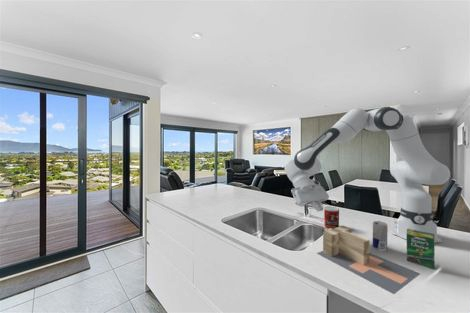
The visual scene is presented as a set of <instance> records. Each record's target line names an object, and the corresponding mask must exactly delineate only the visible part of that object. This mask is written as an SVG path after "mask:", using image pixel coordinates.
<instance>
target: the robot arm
mask: <svg viewBox="0 0 470 313" xmlns="http://www.w3.org/2000/svg"><path fill="white" fill-rule="evenodd" d="M361 130H363V131H367V132H381V131H385V132H386V133H387V135H388V138H389V141H390V143H391V146H392V148H393V151H394V153H395V154H396V156H398V157H400V158H401V159H402V160H398V161H394V162H393V163H392V164H391V166H390V169H389V172H390V175H391V176H392V178H394V179H395V181H396V182H397V183H398V186H399V189H400V193H401V207H400V215H399V217H398V218H397V219H394V221H393V222H394V224H393V225H392V226H393V227H392V232H391V235H393V236H397V237H399V238H401V239H404V240H406V241H407V229H412V230H417V231H422V232H427V233H432V234H434V244H436V243H442V239H441V238H440V237H438V229H437V228H438V226H437V224H436V223H435V222H434V221H433V218H434V215H433V212H432V203H433V201H432V200H433V198H432V195H431V194H430V193H429V192H428V191H426V189H425V188H424V186H423V185H426V186H441V185H445V184H446V183H447V182H449V180H450V179H451V171H450V168H449V167H448V166H447V165H446V164H443V163H441V162H440V161H438V160H437V159H435V157H433V156H432V155H431V154H430V153H429V152H428V150H427V149H426V147H425V146H424V144H423V141H422V139H421V137H420V134H419V131H418V129H417V127H416V124H415V122H414V121H413V119H412V118H411V117H410V115H407V114H404V113H403V114H402V113H401V112H400V111H399V110H398V109H397V108H394V107H389V106H385V107H380V108H374V109H371V110H368V111H365V109H363V108H359V107H356V108H355V107H354V108H353V109H351V110H348V111H347V113H345V114H344V115H343V116H341V117H340V119H339V120H338V121H336V123H334V125H332V126H331V127H330V128H328V129H327V130H325V131H324V132H323V133H321V134H320V135H319V136H318V137H317V138H316V139H315V140H314V141H312V142H311V143H309V145H307V146H306V147H305V148H302V149H301V150H298V151H297V152H296V153H295V155H294V158H293V159H290V160H288V161H287V162H286V163H285V165H284V172H285V174H286V176H287V178H288V179H289V181H291V183H292V186H293V187H294V188H293V187H292V188H291V192H290V193H291V194H292V196H293V199H294V201H295V203H296V205H298V206H299V207H304V206H308V205H311V207H312V208H314V209H315V210H316V212H321V211H323V210H324V207H323V205H322V202H326V201H327V200H328V199H330V196H329V194H328V192H327V191H326V190H325V188H324V187H323V186H322V185H321V183H320V181H318V180H314V179H311V178H310V177H312V176H314V175H317V174H318V173H319V172H320V171H321V169H322V164H321V162H320V160H319V159H318V156H319V155H320V154H321V153H323V151H324V150H325V149H327V148H329V146H330V145H333V144H340V145H343V144H345V145H346V144H347V143H348V142H350V141H351V140H353V138H355V137H356V135H357V134H359V133H360V131H361Z"/></svg>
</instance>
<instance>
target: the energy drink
mask: <svg viewBox="0 0 470 313" xmlns="http://www.w3.org/2000/svg"><path fill="white" fill-rule="evenodd" d="M388 227H389V225H388V224H387V223H386V222H384V221H380V220H379V221H378V220H375V221H373V222H372V248H373V249H374V250H377V251H380V252H387V251H388V230H389V229H388Z"/></svg>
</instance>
